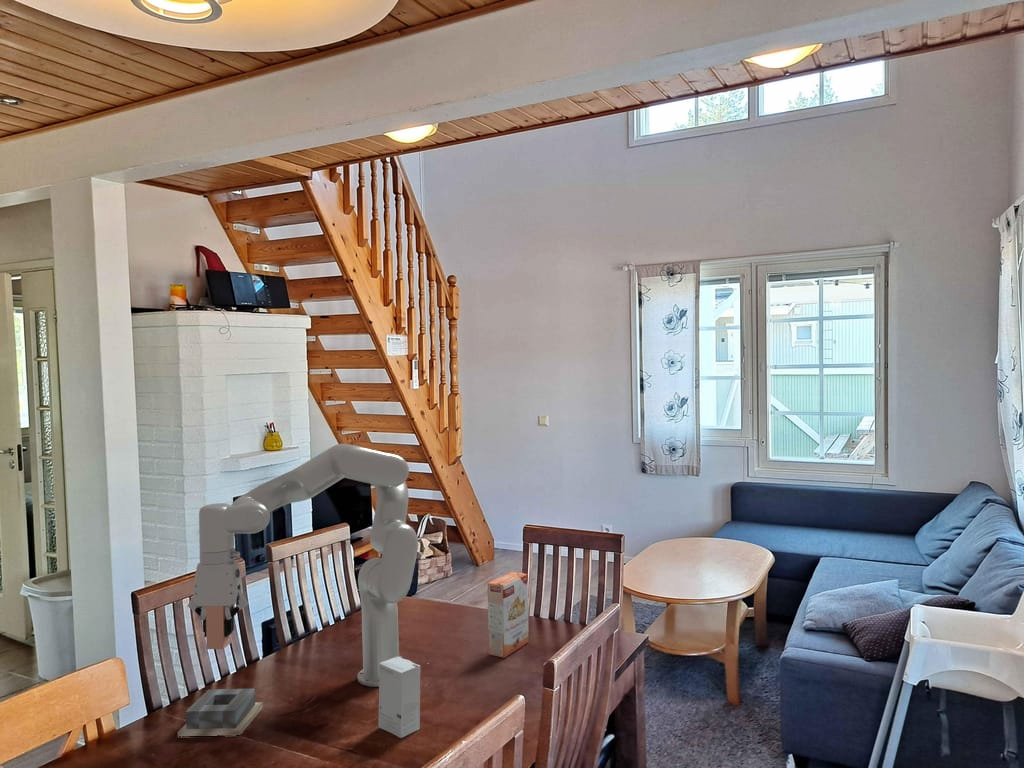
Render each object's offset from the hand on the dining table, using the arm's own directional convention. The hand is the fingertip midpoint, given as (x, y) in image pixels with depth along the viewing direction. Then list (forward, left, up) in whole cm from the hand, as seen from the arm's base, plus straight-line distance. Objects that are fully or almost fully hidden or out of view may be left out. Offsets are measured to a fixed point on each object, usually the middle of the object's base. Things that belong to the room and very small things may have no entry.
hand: (218, 634), depth 163 cm
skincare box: (-43, +5, -21) cm, 48 cm away
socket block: (0, 0, -21) cm, 21 cm away
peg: (0, 0, -3) cm, 3 cm away
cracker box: (-67, -41, -21) cm, 82 cm away
